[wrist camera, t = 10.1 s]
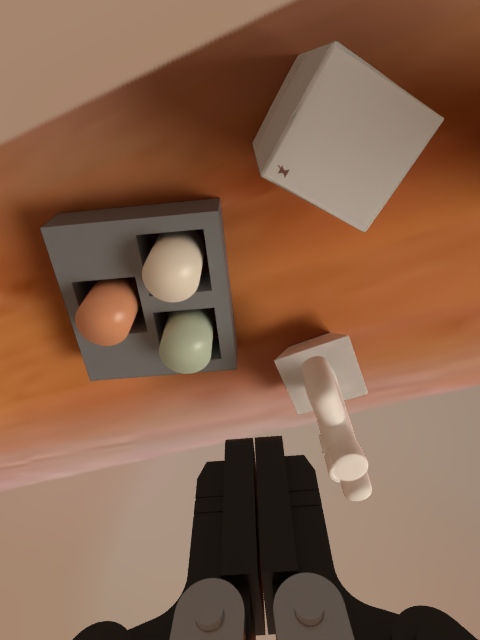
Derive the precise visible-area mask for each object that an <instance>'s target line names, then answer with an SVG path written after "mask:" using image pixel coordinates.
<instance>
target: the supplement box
mask: <svg viewBox="0 0 480 640" xmlns="http://www.w3.org/2000/svg"><path fill="white" fill-rule="evenodd" d="M443 121H444V117H442V116H440V115H439V114H437V113H436V112H434V111H433V110H432V109H430V108H429V107H428V106H426V105H425V104H423V103H422V102H421V101H419V100H418V99H416V98H415V97H413V96H412V95H411V94H409V93H408V92H407V91H405V90H404V89H402V88H401V87H400V86H398V85H397V84H396V83H394V82H393V81H392V80H390V79H389V78H387V77H386V76H385V75H383V74H382V73H381V72H379V71H378V70H377V69H375V68H374V67H372V66H371V65H370V64H368V63H367V62H365V61H364V60H363V59H361V58H360V57H359V56H357V55H356V54H354V53H353V52H352V51H350V50H349V49H347V48H346V47H345V46H343V45H342V44H341V43H339V42H338V41H333V42H331V43H329V44H326V45H324V46H321V47H318V48H315V49H313V50H310V51H307V52H305V53H302V54H299V55H298V56H297V58H296V60H295V61H294V63H293V65H292V67H291V69H290V71H289V72H288V74H287V76H286V78H285V80H284V82H283V84H282V86H281V88H280V89H279V91H278V93H277V95H276V97H275V99H274V101H273V103H272V105H271V107H270V109H269V111H268V113H267V115H266V117H265V119H264V121H263V123H262V125H261V127H260V129H259V131H258V133H257V135H256V137H255V139H254V141H253V142H252V145H253V148H254V152H255V156H256V160H257V164H258V168H259V172H260V175H261V177H263V178H264V179H266V180H268V181H270V182H272V183H274V184H276V185H277V186H279V187H281V188H283V189H285V190H287V191H289V192H291V193H292V194H294V195H296V196H298V197H300V198H302V199H303V200H305V201H307V202H309V203H311V204H313V205H315V206H316V207H318V208H320V209H322V210H324V211H326V212H328V213H330V214H331V215H333V216H335V217H337V218H339V219H341V220H343V221H344V222H346V223H348V224H350V225H352V226H353V227H355V228H357V229H359V230H361V231H362V232H366V231H367V229H368V228H369V227H370V225H371V224H372V222H373V221H374V219H375V218H376V217H377V215H378V214H379V212H380V211H381V210H382V208H383V207H384V205H385V204H386V202H387V201H388V200H389V198H390V197H391V195H392V194H393V192H394V191H395V190H396V188H397V187H398V185H399V184H400V182H401V181H402V180H403V178H404V177H405V175H406V174H407V172H408V171H409V170H410V168H411V167H412V165H413V164H414V162H415V161H416V159H417V158H418V157H419V155H420V154H421V152H422V151H423V149H424V148H425V146H426V145H427V144H428V142H429V141H430V139H431V138H432V136H433V135H434V133H435V132H436V131H437V129H438V128H439V126H440V125H441V123H442V122H443Z"/></svg>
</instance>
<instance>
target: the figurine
mask: <svg viewBox="0 0 480 640" xmlns="http://www.w3.org/2000/svg"><path fill="white" fill-rule="evenodd" d="M274 363H275V365H276V367H277V369H278V371H279V374H280V376H281V378H282V380H283V383H284V385H285V387H286V389H287V391H288V394H289V396H290V398H291V400H292V402H293V405H294V407H295V409H296V411H297V413H298V415H301V414H304V413H307V412H310V411H313V410H314V413H315V415H316V417H317V421H318V425H319V428H320V432H321V435H319V439H320V442H321V446H322V449H323V450H322V452H323V453H325V461H326V465H327V469H328V473H329V476H330V478H331V479H332V480H333V481H335V482H338V483H339V482H341V486H342V489H343V493H344V495H345V497H346V498H347V499H349V500H351V501H361V500H364V499H366V498H368V497H369V496H370V494H371V492H372V486H371V482H370V479H369V476H368V473H367V469H368V461H367V459H366V457H365V455H364V453H363V451H362V449H361V447H360V445H359V444H358V443H357V440H356V437H355V434H354V431H353V428H352V425H351V421H350V418H349V415H348V412H347V409H346V406H345V403H344V401H346V400H349V399H352V398H356V397H359V396H362V395H365V394H368V391H367V388H366V385H365V382H364V379H363V377H362V374H361V371H360V368H359V365H358V362H357V359H356V356H355V353H354V350H353V347H352V344H351V341H350V338H349V335H343V334H336V333H327V334H324V335H321V336H319V337H316V338H313V339H310V340H307V341H304V342H301V343H298V344H295V345H292V346H289V347H288V348H287V349H286V350H285V351H284V352H283V353H282V354H280V355H279V356H278V357H277V358H276V359H275V360H274Z"/></svg>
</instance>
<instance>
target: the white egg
mask: <svg viewBox="0 0 480 640" xmlns="http://www.w3.org/2000/svg"><path fill="white" fill-rule="evenodd" d="M204 254H205V246H204V243H203V240H202V238H201V237H200V235H199V234H198V233H197V232H196V231H195V230H187V231H176V232H165V233H160V234H159V235H158V237H157V239H156V241H155V243H154V245H153V247H152V249H151V251H150V253H149V255H148V257H147V259H146V261H145V264H144V266H143V269H142V279H143V282H144V285H145V287H146V288H147V290H148V291H149V292H150V293H151V294H152V295H153V296H154V297H156V298H158V299H160V300H162V301H165V302H181V301H184V300H186V299H188V298H189V297H191V296H192V295H193V294H194V293H195V291H196V290H197V288H198V285H199V281H200V276H201V270H202V265H203V260H204Z"/></svg>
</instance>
